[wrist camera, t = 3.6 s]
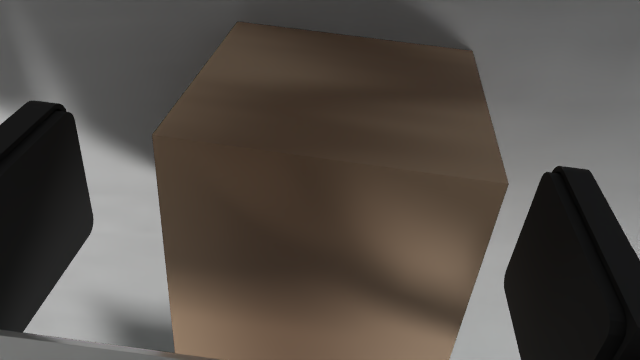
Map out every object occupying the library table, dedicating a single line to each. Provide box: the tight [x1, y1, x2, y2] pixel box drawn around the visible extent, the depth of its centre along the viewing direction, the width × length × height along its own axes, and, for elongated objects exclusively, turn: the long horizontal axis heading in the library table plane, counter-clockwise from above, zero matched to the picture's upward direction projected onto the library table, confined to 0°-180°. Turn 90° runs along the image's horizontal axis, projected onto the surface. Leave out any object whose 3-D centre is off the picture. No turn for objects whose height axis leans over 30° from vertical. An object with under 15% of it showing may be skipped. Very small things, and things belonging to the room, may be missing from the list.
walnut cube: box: [152, 22, 509, 360], centre depth 11 cm, size 5×5×5 cm
